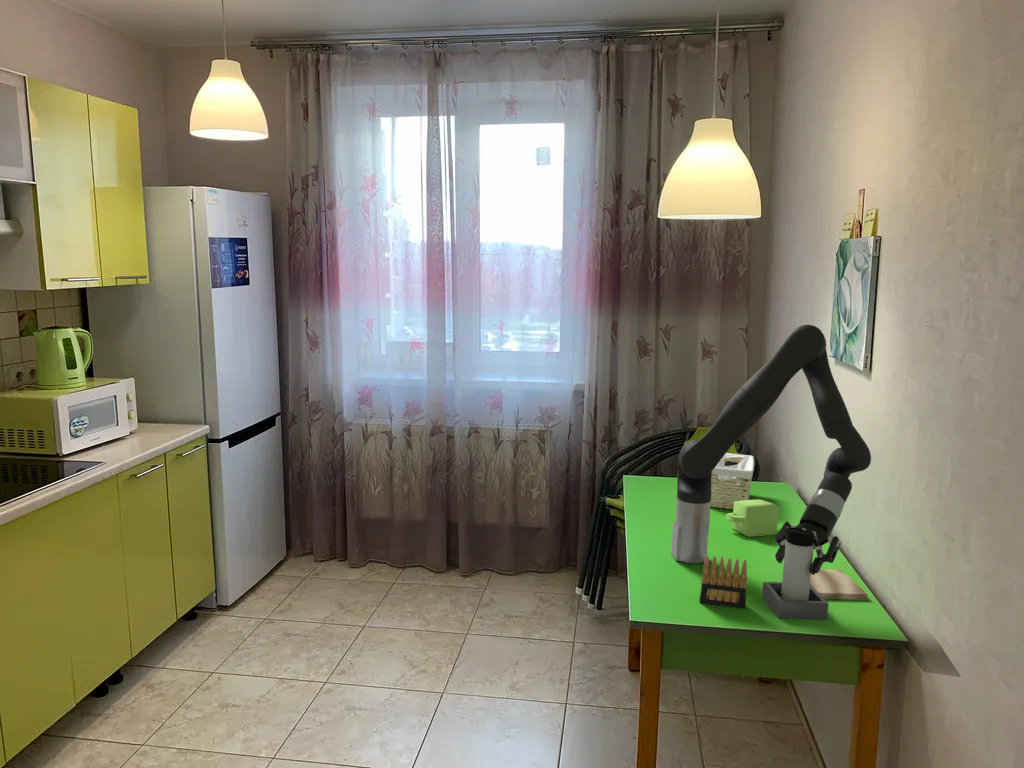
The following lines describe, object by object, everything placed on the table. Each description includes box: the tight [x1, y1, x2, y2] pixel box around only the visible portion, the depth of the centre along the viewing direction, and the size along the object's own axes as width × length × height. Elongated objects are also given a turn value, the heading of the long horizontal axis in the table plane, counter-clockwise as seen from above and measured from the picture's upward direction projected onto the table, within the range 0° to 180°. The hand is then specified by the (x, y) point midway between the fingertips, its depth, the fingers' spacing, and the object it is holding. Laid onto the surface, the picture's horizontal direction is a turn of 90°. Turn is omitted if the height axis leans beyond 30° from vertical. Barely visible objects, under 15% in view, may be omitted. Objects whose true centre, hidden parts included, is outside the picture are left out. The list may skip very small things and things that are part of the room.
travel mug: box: [781, 527, 815, 601], centre depth 179 cm, size 6×7×20 cm
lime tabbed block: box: [726, 499, 780, 538], centre depth 233 cm, size 18×10×10 cm, turn 110°
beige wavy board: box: [810, 568, 868, 601], centre depth 194 cm, size 13×15×2 cm
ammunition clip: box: [699, 555, 748, 609], centre depth 181 cm, size 11×2×12 cm, turn 77°
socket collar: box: [761, 581, 829, 620], centre depth 181 cm, size 11×11×4 cm
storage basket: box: [710, 452, 755, 510], centre depth 263 cm, size 24×16×15 cm
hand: (794, 567), depth 178 cm, fingers open, 8 cm apart
